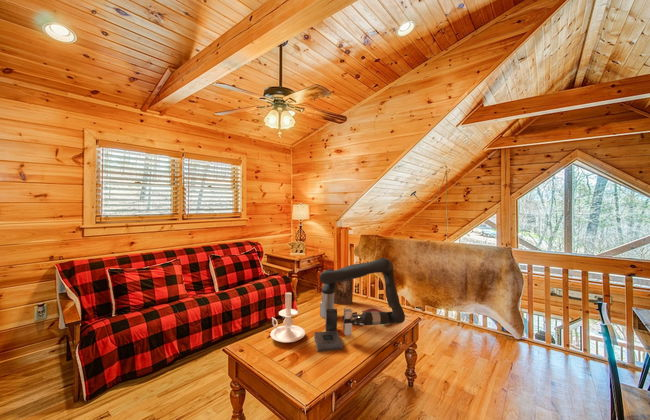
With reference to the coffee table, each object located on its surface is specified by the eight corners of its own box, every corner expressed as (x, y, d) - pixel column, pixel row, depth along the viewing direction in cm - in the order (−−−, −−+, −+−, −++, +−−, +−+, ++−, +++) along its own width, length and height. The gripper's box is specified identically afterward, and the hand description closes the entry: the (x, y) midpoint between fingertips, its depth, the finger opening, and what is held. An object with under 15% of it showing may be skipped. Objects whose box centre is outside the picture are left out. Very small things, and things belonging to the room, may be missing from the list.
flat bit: (326, 331, 172) (326, 310, 172) (325, 329, 175) (325, 308, 174) (336, 330, 174) (337, 309, 173) (336, 328, 176) (336, 308, 175)
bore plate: (317, 351, 149) (317, 344, 149) (314, 338, 163) (314, 332, 163) (342, 349, 152) (342, 342, 151) (337, 337, 165) (337, 330, 165)
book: (331, 303, 219) (332, 272, 218) (332, 300, 225) (333, 270, 224) (352, 304, 217) (353, 273, 216) (352, 301, 223) (353, 271, 222)
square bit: (344, 335, 158) (345, 311, 157) (343, 331, 162) (344, 308, 161) (351, 334, 158) (352, 311, 158) (349, 331, 162) (350, 308, 162)
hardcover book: (373, 312, 204) (373, 306, 204) (395, 322, 187) (395, 316, 187) (361, 316, 197) (361, 310, 197) (383, 327, 180) (384, 321, 180)
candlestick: (283, 324, 180) (284, 283, 179) (312, 337, 165) (313, 291, 164) (258, 336, 164) (259, 291, 163) (287, 351, 149) (288, 301, 148)
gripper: (367, 307, 169) (340, 308, 166) (375, 317, 155) (346, 318, 152) (367, 319, 169) (340, 320, 166) (375, 330, 155) (345, 331, 152)
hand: (343, 319), depth 159 cm, fingers closed on square bit, 4 cm apart
